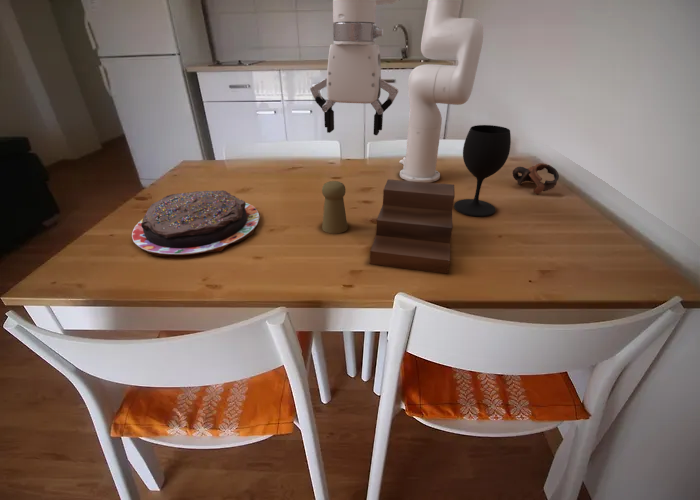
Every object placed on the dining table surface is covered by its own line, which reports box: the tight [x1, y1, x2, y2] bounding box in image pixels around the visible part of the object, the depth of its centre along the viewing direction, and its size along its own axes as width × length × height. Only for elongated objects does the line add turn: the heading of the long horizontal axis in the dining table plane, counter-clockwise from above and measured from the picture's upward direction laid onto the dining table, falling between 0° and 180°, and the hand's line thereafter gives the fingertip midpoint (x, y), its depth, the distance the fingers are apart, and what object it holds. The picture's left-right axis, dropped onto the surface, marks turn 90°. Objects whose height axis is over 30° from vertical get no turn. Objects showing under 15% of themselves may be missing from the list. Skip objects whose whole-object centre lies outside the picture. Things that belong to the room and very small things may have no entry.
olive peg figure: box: [321, 180, 349, 235], centre depth 80 cm, size 6×6×11 cm
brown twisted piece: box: [512, 162, 560, 195], centre depth 102 cm, size 12×10×8 cm
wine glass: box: [453, 124, 512, 218], centre depth 87 cm, size 10×10×20 cm
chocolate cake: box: [131, 190, 260, 257], centre depth 82 cm, size 28×28×7 cm
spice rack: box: [369, 178, 456, 274], centre depth 75 cm, size 21×15×10 cm
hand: (353, 132), depth 73 cm, fingers open, 9 cm apart
